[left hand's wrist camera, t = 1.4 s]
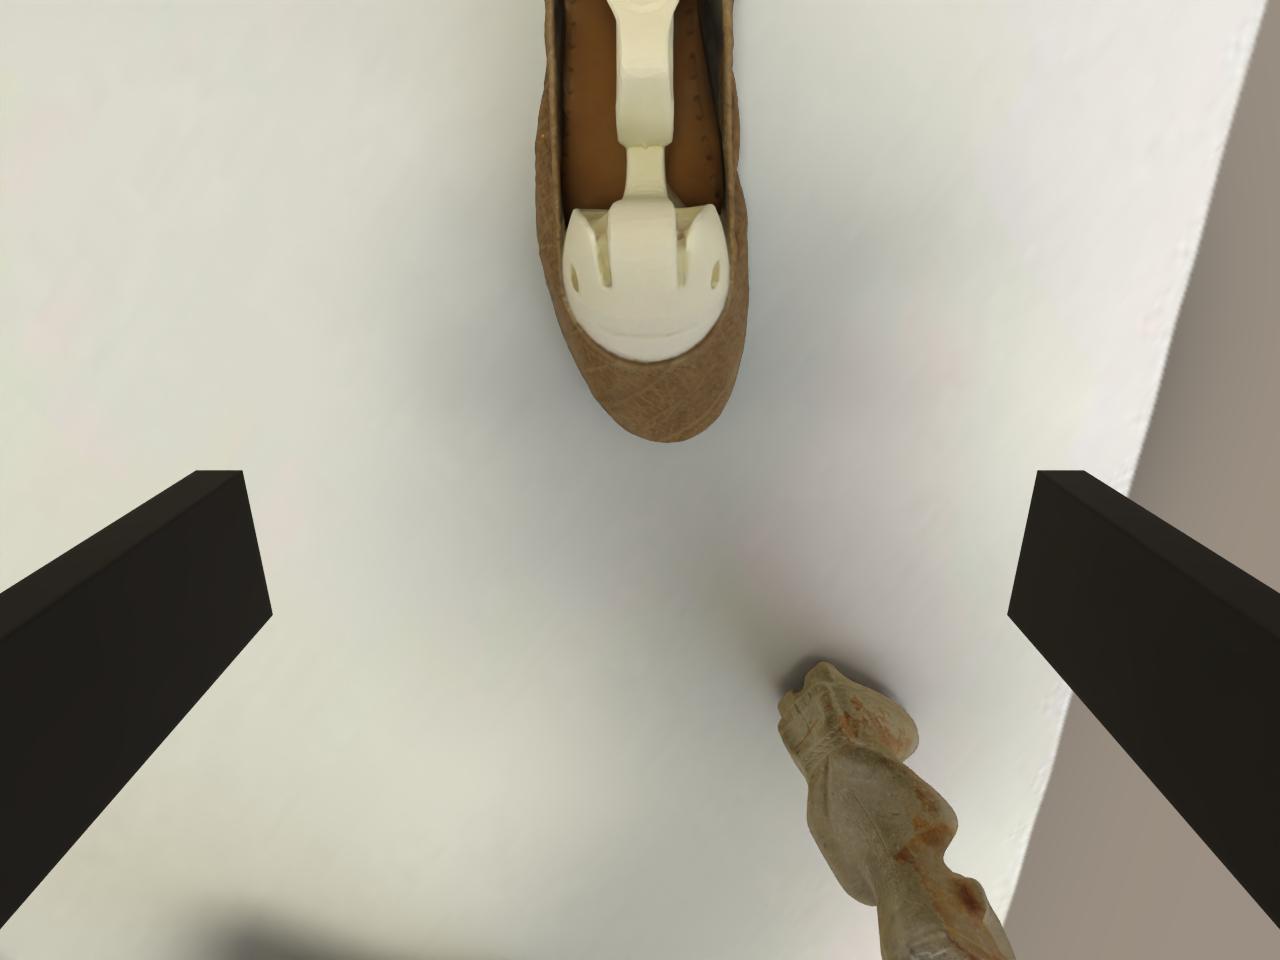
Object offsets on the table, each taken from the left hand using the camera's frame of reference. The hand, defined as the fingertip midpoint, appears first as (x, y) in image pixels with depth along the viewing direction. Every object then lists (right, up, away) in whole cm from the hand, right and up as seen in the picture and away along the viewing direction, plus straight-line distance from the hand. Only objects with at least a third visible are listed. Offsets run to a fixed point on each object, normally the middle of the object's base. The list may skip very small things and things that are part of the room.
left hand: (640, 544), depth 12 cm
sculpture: (+10, -11, +26) cm, 30 cm away
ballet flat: (0, +15, +16) cm, 22 cm away
